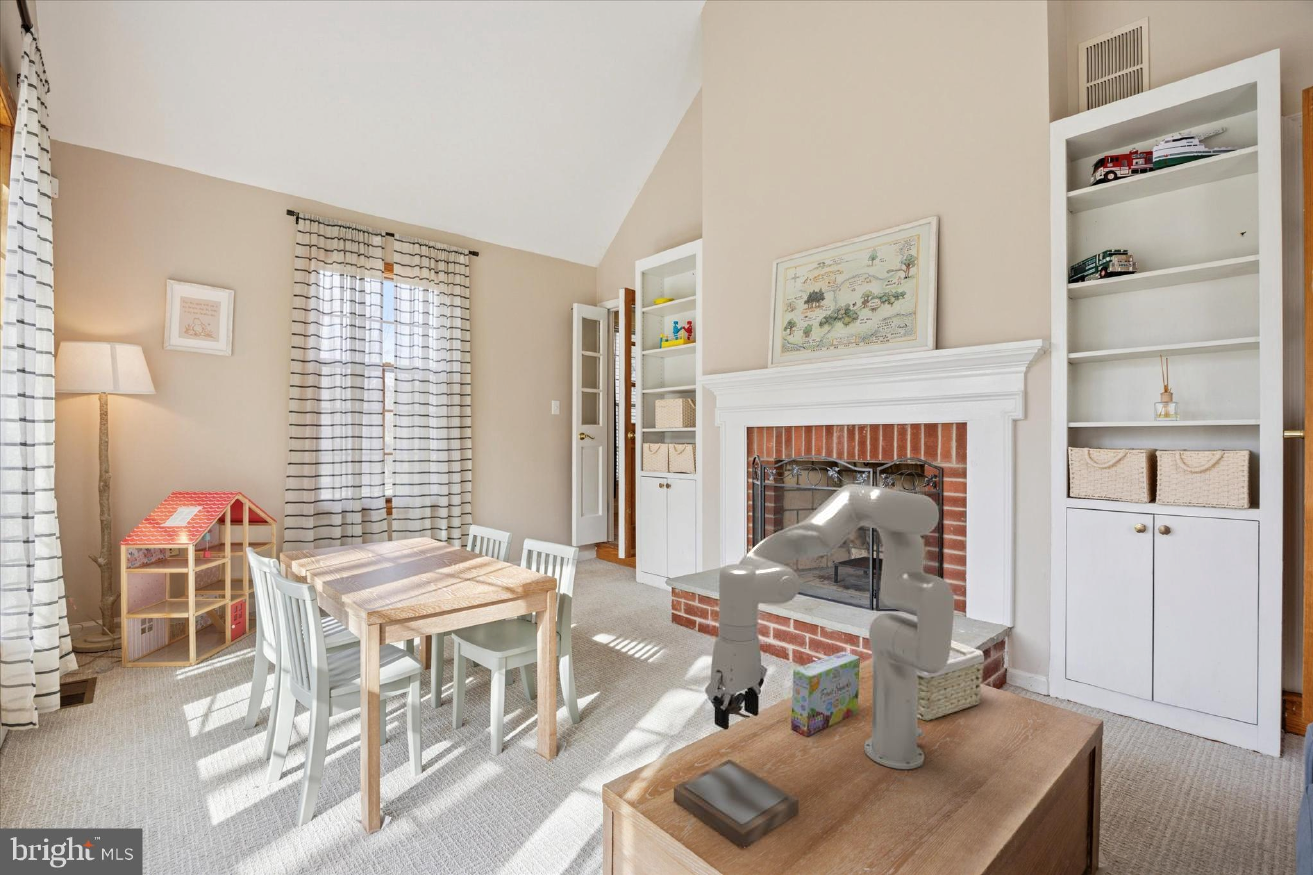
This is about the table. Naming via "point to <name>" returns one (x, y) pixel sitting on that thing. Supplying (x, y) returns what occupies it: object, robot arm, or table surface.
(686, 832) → the table surface
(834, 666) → the snack box
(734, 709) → the eagle figurine
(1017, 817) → the table surface
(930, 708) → the storage basket
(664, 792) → the table surface
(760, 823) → the picture frame
